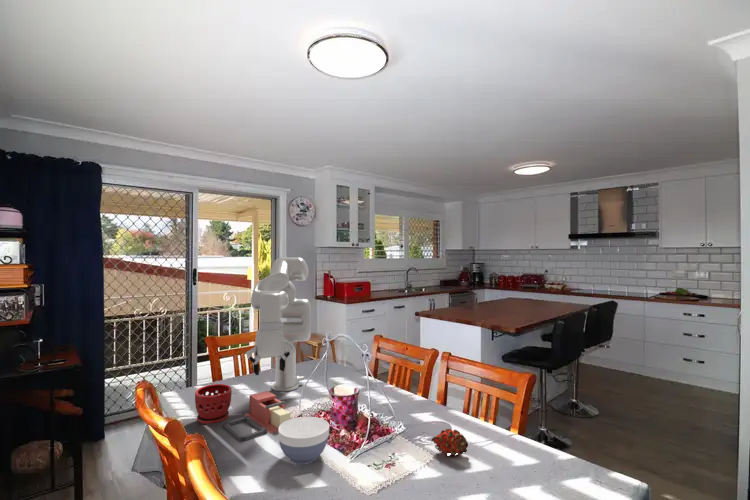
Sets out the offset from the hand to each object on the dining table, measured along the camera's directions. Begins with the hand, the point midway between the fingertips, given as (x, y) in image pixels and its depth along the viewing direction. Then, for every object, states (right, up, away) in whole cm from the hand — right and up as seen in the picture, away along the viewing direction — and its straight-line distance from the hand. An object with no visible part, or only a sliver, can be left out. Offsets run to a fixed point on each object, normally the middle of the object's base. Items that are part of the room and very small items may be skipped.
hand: (269, 372), depth 147 cm
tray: (-8, -20, -4) cm, 22 cm away
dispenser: (-1, -20, +5) cm, 21 cm away
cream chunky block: (+3, -19, +1) cm, 20 cm away
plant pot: (-23, -21, +6) cm, 31 cm away
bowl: (+17, -21, -21) cm, 34 cm away
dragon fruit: (+64, -21, -19) cm, 69 cm away
